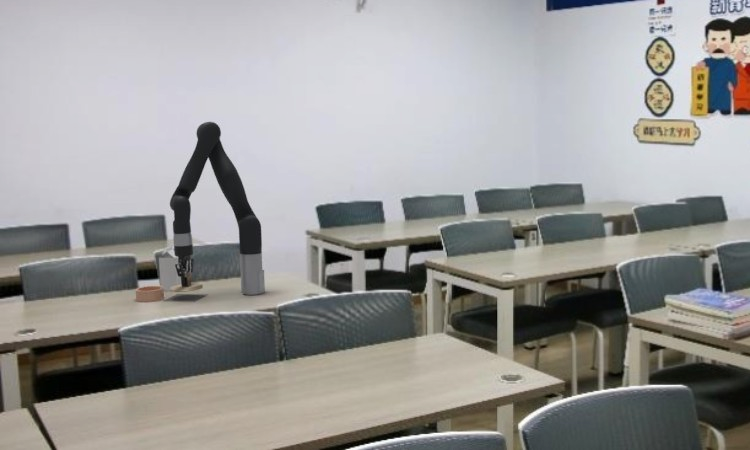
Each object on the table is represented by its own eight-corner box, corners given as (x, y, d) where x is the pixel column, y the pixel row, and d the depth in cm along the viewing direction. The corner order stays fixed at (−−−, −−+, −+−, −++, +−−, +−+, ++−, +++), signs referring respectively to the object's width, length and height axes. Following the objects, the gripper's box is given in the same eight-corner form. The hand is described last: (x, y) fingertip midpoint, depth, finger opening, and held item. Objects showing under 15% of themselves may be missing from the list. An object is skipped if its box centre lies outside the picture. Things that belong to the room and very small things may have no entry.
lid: (207, 285, 346) (206, 268, 345) (195, 291, 333) (193, 274, 333) (178, 285, 349) (177, 269, 348) (165, 292, 336) (163, 275, 335)
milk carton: (182, 289, 363) (179, 246, 361) (176, 292, 356) (174, 248, 354) (166, 289, 364) (164, 246, 362) (160, 292, 357) (158, 249, 355)
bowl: (168, 297, 345) (167, 286, 344) (156, 303, 334) (155, 291, 334) (144, 297, 347) (143, 285, 346) (131, 303, 336) (130, 291, 336)
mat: (208, 295, 347) (208, 294, 347) (194, 303, 334) (194, 301, 333) (177, 295, 350) (177, 293, 350) (162, 302, 336) (162, 300, 336)
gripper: (184, 246, 331) (188, 288, 333) (198, 241, 345) (201, 281, 347) (167, 246, 332) (170, 288, 335) (181, 241, 346) (184, 281, 348)
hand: (186, 284), depth 341 cm, fingers closed on lid, 3 cm apart
